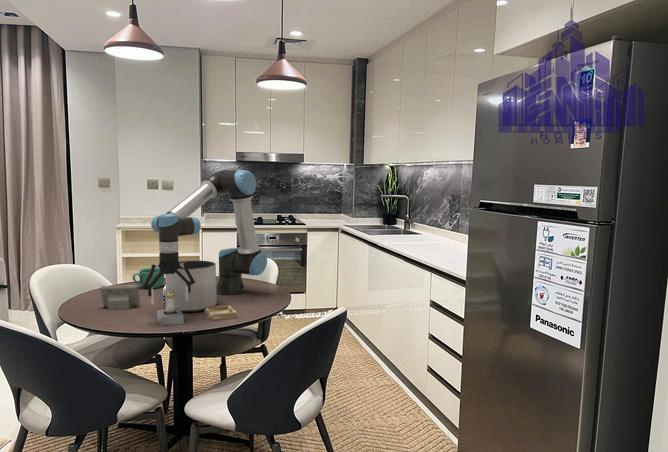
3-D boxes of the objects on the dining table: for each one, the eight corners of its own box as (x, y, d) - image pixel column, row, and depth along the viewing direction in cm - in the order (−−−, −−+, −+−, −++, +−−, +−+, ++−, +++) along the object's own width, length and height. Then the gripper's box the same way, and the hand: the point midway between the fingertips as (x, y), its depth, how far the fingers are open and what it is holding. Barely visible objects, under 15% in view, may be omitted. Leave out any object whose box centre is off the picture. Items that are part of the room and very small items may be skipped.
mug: (161, 283, 273) (160, 267, 272) (167, 288, 263) (167, 270, 262) (129, 287, 263) (129, 270, 263) (135, 291, 253) (134, 273, 252)
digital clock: (141, 305, 226) (141, 283, 225) (133, 310, 217) (132, 287, 216) (107, 304, 227) (106, 282, 226) (97, 310, 218) (96, 286, 217)
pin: (163, 319, 203) (162, 291, 202) (175, 318, 206) (175, 290, 204) (164, 323, 199) (164, 294, 198) (177, 321, 201) (177, 293, 200)
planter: (217, 300, 238) (216, 259, 236) (216, 312, 216) (215, 268, 214) (169, 302, 233) (168, 260, 231) (162, 314, 211) (161, 269, 209)
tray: (204, 312, 215) (204, 307, 215) (229, 309, 220) (229, 304, 220) (211, 320, 203) (211, 315, 203) (237, 317, 208) (237, 312, 208)
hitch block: (157, 318, 206) (157, 310, 205) (179, 315, 210) (179, 307, 209) (160, 326, 195) (160, 317, 195) (183, 323, 199) (183, 315, 199)
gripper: (137, 254, 191) (138, 307, 193) (201, 251, 202) (202, 301, 204) (135, 251, 197) (136, 303, 199) (198, 248, 208) (198, 297, 210)
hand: (169, 302), depth 201 cm, fingers open, 13 cm apart
